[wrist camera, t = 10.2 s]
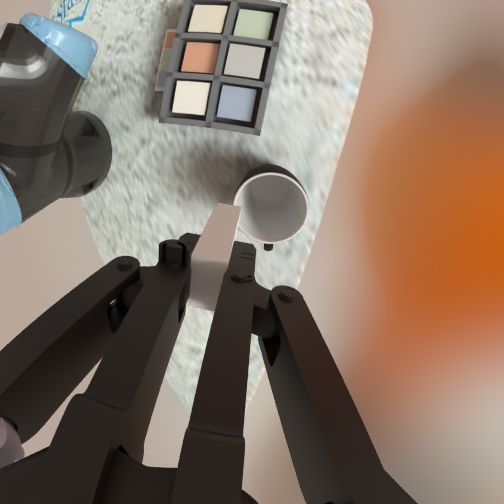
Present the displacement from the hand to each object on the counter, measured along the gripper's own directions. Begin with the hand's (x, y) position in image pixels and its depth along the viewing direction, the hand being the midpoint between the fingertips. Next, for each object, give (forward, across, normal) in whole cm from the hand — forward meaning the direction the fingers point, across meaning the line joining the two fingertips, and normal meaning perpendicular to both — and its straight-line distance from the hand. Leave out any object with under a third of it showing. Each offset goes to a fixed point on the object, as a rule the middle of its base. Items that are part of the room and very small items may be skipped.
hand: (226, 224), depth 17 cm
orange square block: (+23, -9, +14) cm, 29 cm away
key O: (+22, -9, +8) cm, 25 cm away
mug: (+25, +4, -5) cm, 25 cm away
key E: (+23, -3, +20) cm, 31 cm away
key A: (+23, -3, +8) cm, 25 cm away
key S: (+22, -9, +20) cm, 31 cm away
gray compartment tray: (+24, -8, +14) cm, 29 cm away
